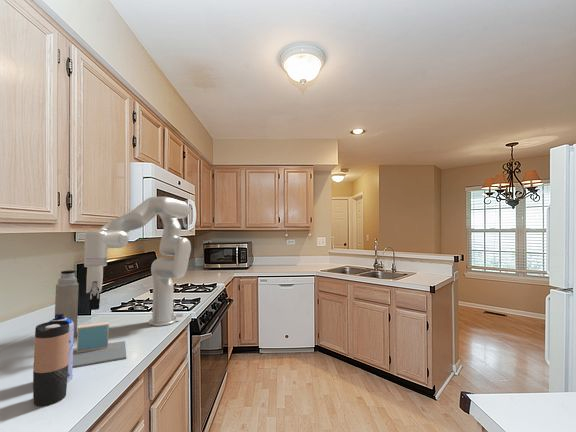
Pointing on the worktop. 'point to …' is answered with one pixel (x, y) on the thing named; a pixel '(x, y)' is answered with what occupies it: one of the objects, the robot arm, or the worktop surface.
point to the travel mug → (50, 362)
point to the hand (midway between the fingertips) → (94, 306)
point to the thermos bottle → (67, 297)
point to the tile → (92, 337)
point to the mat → (100, 355)
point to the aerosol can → (71, 333)
